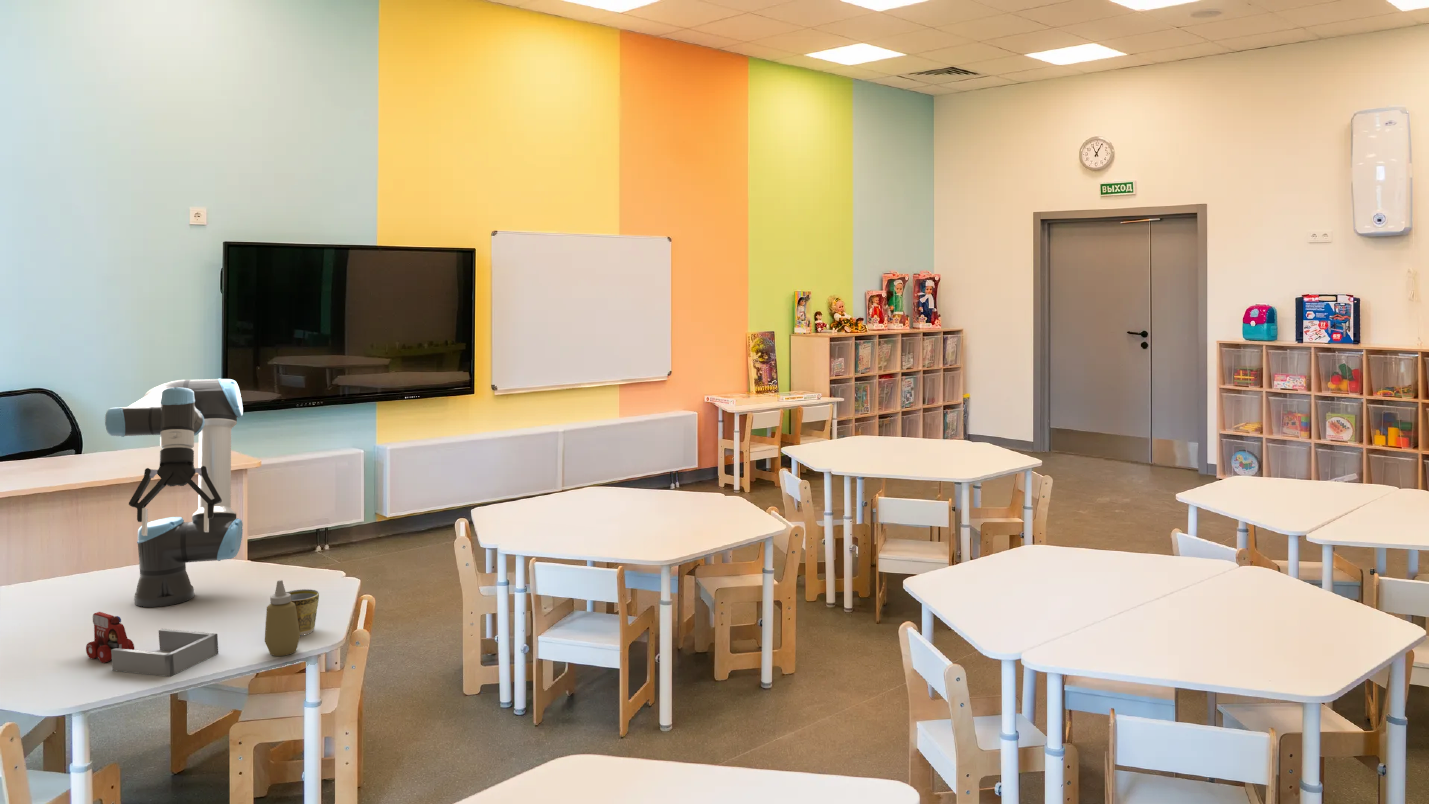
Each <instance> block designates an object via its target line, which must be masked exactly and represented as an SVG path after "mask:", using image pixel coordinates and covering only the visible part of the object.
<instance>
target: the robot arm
mask: <svg viewBox="0 0 1429 804" xmlns="http://www.w3.org/2000/svg"><path fill="white" fill-rule="evenodd" d="M241 396H242V395H241V391H240V387H239V385H238V383H237V381H236V380H234V379H231V378H210V379H209V378H207V379H204V378H203V379H200V378H199V379H178V380H177V379H176V380H172V381H169V382H165V383H161V384H159V385H158V386H155V387H152V388H150V389H149V390H147V391H146V392H145V394H144V395H143V397H142V398H140V399H138V400H137V401H136V402H133V403H131V404H130V405H129V406H122V407H121V406H118V407H110V408H108V409H107V410H106V412H105V414H104V415H105V416H104V427H105V431H106V434H107V435H109V436H110V437H121V438H124V437H136V436H138V437H139V436H160V437H159V447H160V450H159V466H158V469H151V468H149V467H147V468H145V469H144V473H143V478H142V479H141V481H140V482H139V485H138V486H137V488H136V490H135V491H134V493H133V495H132V497H131V499H129V502H128V505H129V506H130V507H132V508H135V509H136V520H137V523H141V526H140V527H139V528H138V530H137V541H136V542H137V543H136V544H137V547H138V548H137V550H138V565H139V579H138V582H137V586H136V591H135V593H134V595H133V597H134V598H133V599H134V600H133V601H134V605H136V606H138V607H142V606H143V607H144V608H155V607H167V606H173V605H177V604H181V603H184V602H187V601H189V600H192V599H193V598H194V597H195V589H194V586H193V585H192V583H191V580H190V578H189V574H188V572H187V564H186V563H199V562H214V561H218V562H221V561H225V560H232V559H234V558H235V557H237V556H238V553H239V552H240V549H241V545H242V540H243V530H244V529H243V520H242V519H241V518H237V512H236V511H234V509H232V499H231V498H232V495H231V494H232V429H233V428H234V427H235V426H236V425H237V424H238V418H241V417H242V416H243V415H244V414H243V413H244V407H243V399H242V397H241ZM197 435H198V467H196V468H195V466H194V465H195V464H194V462H195V460H194V459H195V455H194V454H195V450H194V449H193V448H195V436H197ZM196 473H197V475H198V484H197V483H196V482H195V481H193V479H192V478H193V477H194V476H195V475H196ZM156 475H158V477H159V478H160V479H159V480H158V481H157V483H156V484H155V485H154V486H153V487H152V488H151V489H150V491H148V493H147V494H146V495H144V497H143V498H142V496H143V494H144V492H145V491H146V489H147V488H148V486H149V484H150V482H151V480H152V479H154V477H155V476H156ZM187 484H188V486H190V487H191V488H192V489H193V491H195V492H196V494H198V495H197V497H198V498H197V499H198V501H197V505H198V507H197V508H198V509H197V510H195V512H193V514H192V517H191V521H185V519H183V517H181V516H170V517H164V518H160V519H156V520H152V521H148V519H149V518H148V517H149V516H148V515H149V514H148V513H149V509H148V508H147V506H148V505H149V503H150V502H151V501H153V499H155V498H156V497H157V495H158V494H159V493H160V492H161V491H162V490H163V489H164V488H165V487H167V486H168V487H175V486H178V487H184V486H186V485H187Z"/></svg>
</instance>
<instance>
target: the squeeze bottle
mask: <svg viewBox="0 0 1429 804" xmlns="http://www.w3.org/2000/svg"><path fill="white" fill-rule="evenodd" d="M284 585H285V584H284V582H283V580H281V579H280V580H277V581H276V585H275V590H274V591H275V592H274V594H272V595H270V604H268V605H267V606H266V614H265V628H264V629H265V632H264V643H265V645H266V647H267V648H266V649H268V652H269V654H270V655H271V656H274V657H275V656H276V657H282V656H288V655H291V654H292V655H293V654H294V653H296V652H297V648H298V646H299V642H300V639H301V636H300V631H299V624H298V618H297V612H296V605H295V603H293V602H291V594H289V593H286V592H287V591H286V588H285V586H284Z"/></svg>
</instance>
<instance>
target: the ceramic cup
mask: <svg viewBox="0 0 1429 804" xmlns="http://www.w3.org/2000/svg"><path fill="white" fill-rule="evenodd" d="M286 593H289V594H291V602H293V603H295V605H296V612H297V618H298V624H299V631H300V635H303V636H305V635H304V634H307V635H309V634H308V633H310V634H311V633H312V631H313V630H314V631H315V627H316V619H317V618H316V617H317V612H318V606H319V598H320V592H319V591H318V590H315V589H311V588H310V589H308V588H307V589H305V588H304V589H293V590H290V591H286ZM314 631H313V632H314Z"/></svg>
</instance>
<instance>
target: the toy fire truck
mask: <svg viewBox="0 0 1429 804" xmlns="http://www.w3.org/2000/svg"><path fill="white" fill-rule="evenodd" d="M121 622H122V618H121V617H120V616H118V615H115V616H114V615H112V614H109V613H107V612H106V613H105V612H102V611H98V612H94V613H93V614H92V623H93V631H94V632H93V634H94V635H93V636H94V639H93V641H89V642H87V644H86V646H85V652H86V656H87V657H89V659H91V658H92V660H93V659H97V658H98V660H99V662H101V663H103V664H105V663H108V662H110V661H112V654H111V650H112V649H115V648H119V649H129V650H135V644H134V641H133V640H132V639H129V638H128V635H127V633H126V628H125V626H124V624H123V623H121Z"/></svg>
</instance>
